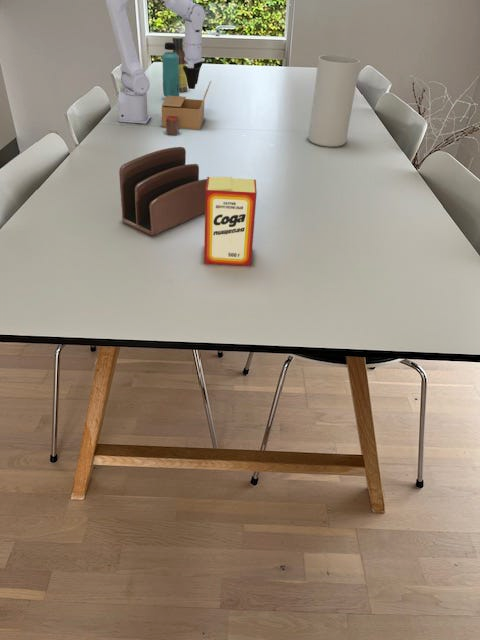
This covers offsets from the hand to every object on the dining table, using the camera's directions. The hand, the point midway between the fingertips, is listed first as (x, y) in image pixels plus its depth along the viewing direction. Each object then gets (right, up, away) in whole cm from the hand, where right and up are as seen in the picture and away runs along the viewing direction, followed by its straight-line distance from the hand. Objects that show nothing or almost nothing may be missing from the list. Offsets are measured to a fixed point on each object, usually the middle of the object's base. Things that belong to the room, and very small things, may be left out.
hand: (192, 86), depth 191 cm
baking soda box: (+14, -70, -80) cm, 107 cm away
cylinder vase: (+46, -24, -12) cm, 53 cm away
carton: (-3, -15, -5) cm, 16 cm away
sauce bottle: (-8, +12, +32) cm, 35 cm away
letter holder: (0, -59, -66) cm, 88 cm away
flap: (+5, -7, -11) cm, 14 cm away
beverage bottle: (-10, +3, +20) cm, 23 cm away
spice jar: (-5, -22, -15) cm, 27 cm away
